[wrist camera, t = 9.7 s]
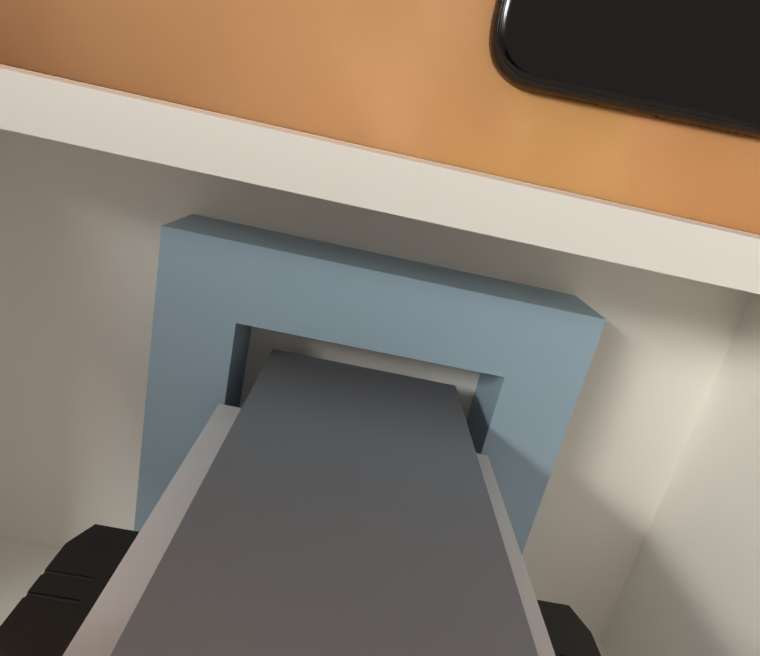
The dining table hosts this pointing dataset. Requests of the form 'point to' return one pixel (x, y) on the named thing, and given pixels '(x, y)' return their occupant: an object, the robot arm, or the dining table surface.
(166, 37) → the dining table surface
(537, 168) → the dining table surface
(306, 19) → the dining table surface
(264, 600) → the grey plug
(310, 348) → the tray box
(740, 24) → the smartphone
